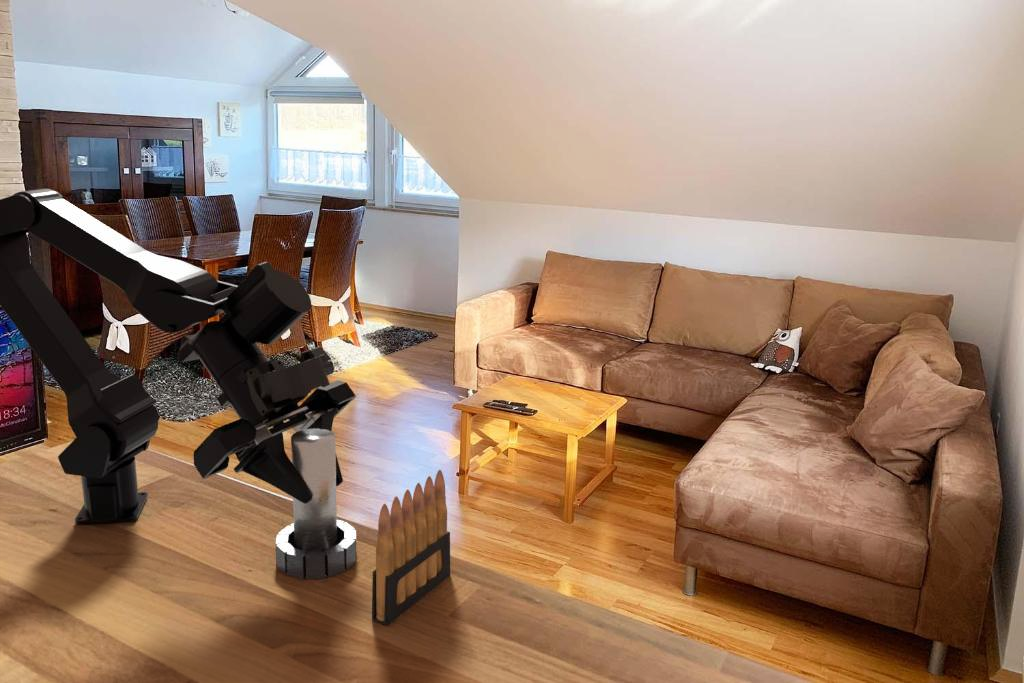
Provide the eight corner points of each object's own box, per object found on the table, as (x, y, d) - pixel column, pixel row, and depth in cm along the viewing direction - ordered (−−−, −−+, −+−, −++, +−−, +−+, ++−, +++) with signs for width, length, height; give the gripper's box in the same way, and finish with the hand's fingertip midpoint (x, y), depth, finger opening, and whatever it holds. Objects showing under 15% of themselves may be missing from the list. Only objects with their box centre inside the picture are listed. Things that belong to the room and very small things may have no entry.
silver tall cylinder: (295, 537, 92) (292, 429, 89) (337, 534, 93) (335, 427, 90) (293, 558, 88) (289, 446, 85) (337, 555, 89) (335, 444, 85)
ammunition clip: (386, 627, 80) (386, 510, 76) (371, 620, 81) (369, 505, 77) (450, 575, 89) (452, 468, 85) (436, 569, 90) (437, 464, 86)
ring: (279, 540, 94) (279, 520, 93) (355, 536, 96) (355, 516, 95) (274, 581, 86) (273, 559, 86) (356, 575, 88) (356, 554, 87)
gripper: (206, 349, 78) (302, 489, 76) (341, 309, 94) (423, 425, 92) (154, 411, 84) (241, 544, 82) (289, 364, 100) (365, 474, 98)
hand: (324, 492), depth 88 cm, fingers closed on silver tall cylinder, 4 cm apart
